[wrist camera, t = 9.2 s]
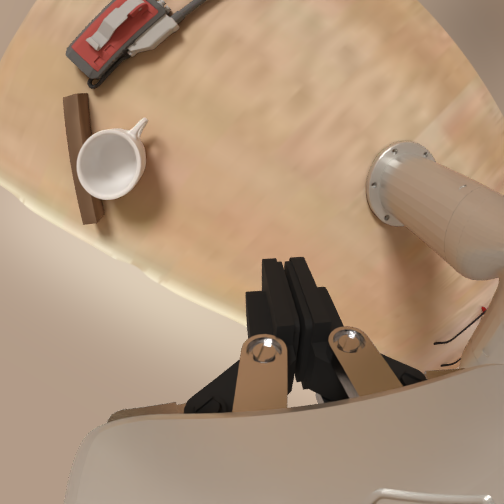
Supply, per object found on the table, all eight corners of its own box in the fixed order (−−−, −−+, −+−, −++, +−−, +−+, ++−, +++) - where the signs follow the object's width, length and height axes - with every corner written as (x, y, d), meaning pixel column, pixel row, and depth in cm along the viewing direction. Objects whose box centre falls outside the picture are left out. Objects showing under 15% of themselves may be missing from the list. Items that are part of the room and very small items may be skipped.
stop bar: (87, 93, 28) (77, 93, 26) (104, 213, 36) (96, 223, 33) (73, 97, 28) (62, 97, 25) (91, 215, 36) (83, 224, 33)
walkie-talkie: (107, 100, 29) (233, -10, 25) (93, 101, 26) (235, -23, 21) (66, 60, 26) (186, -47, 21) (49, 58, 22) (182, -62, 17)
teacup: (127, 197, 35) (114, 213, 31) (83, 162, 32) (64, 173, 28) (176, 136, 33) (169, 142, 28) (129, 98, 30) (114, 98, 25)
